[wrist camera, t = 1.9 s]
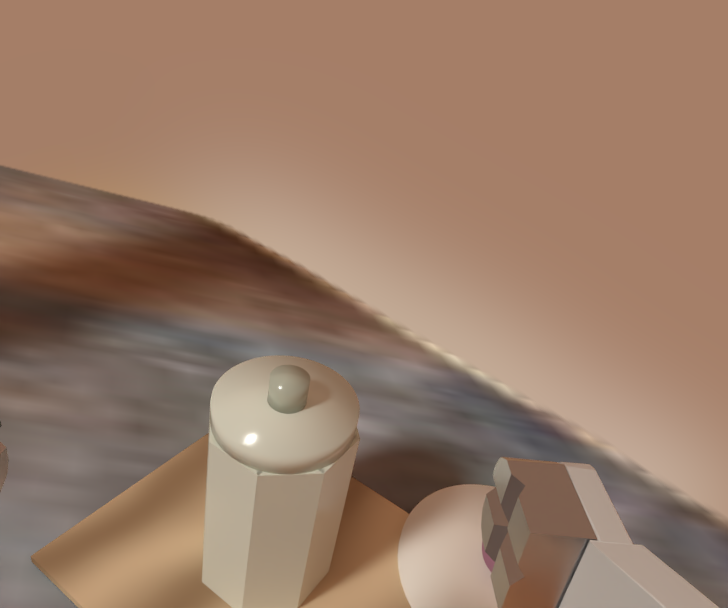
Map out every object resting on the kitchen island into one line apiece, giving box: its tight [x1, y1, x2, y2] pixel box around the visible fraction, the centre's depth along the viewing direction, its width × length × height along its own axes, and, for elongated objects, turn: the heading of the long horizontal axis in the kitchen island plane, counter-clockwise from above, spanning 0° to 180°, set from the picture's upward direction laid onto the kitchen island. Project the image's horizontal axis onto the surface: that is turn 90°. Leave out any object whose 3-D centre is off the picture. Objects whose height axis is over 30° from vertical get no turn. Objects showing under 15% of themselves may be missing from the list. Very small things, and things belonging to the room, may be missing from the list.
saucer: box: [397, 484, 498, 608], centre depth 30 cm, size 11×11×1 cm
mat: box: [31, 433, 411, 608], centre depth 28 cm, size 16×14×1 cm
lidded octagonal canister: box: [202, 356, 360, 608], centre depth 25 cm, size 6×6×11 cm
